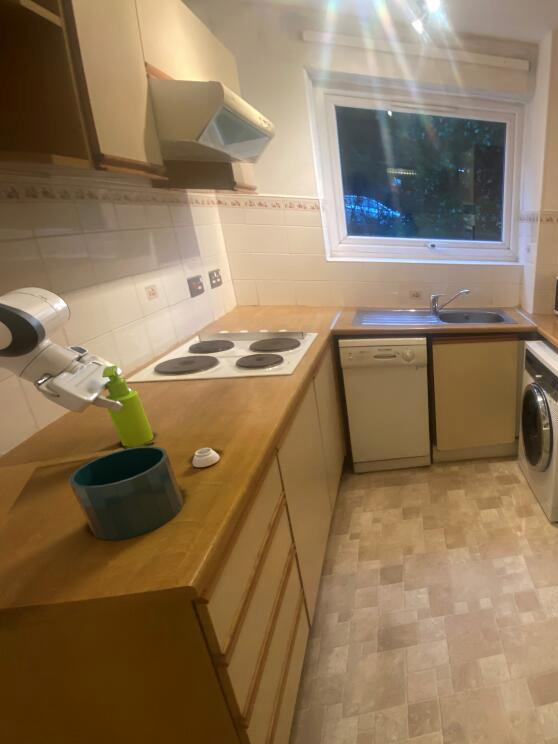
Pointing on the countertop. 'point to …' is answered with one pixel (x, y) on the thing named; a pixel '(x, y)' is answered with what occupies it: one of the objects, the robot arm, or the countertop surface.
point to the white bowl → (205, 457)
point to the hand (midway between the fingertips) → (127, 401)
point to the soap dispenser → (127, 412)
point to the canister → (127, 492)
